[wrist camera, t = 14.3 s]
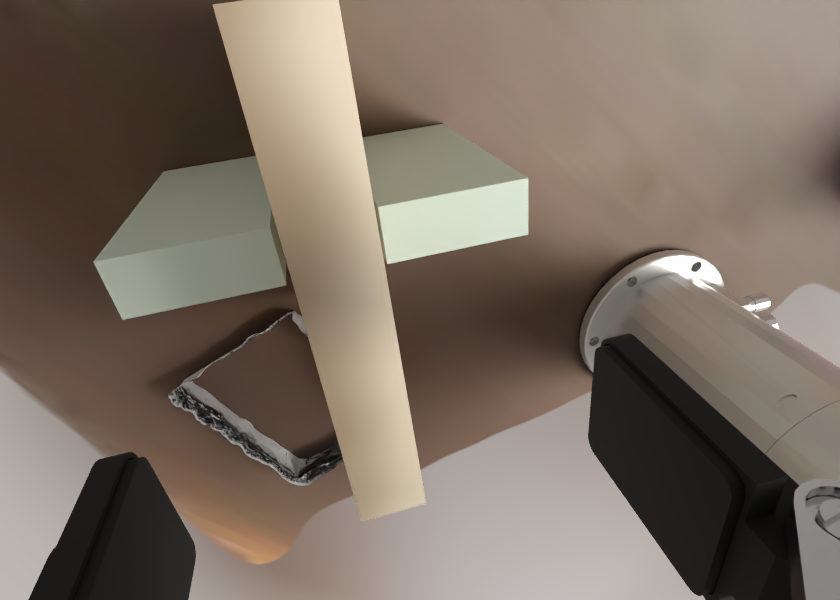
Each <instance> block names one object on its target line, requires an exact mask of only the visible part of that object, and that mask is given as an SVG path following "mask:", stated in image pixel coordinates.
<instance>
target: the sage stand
mask: <svg viewBox="0 0 840 600" xmlns="http://www.w3.org/2000/svg"><path fill="white" fill-rule="evenodd" d="M362 138H363V144H364V150H365V155H366V161H367V167H368V173H369V178H370V184H371V190H372V196H373V201H374V207H375V213H376V219H377V224H378V230H379V236H380V242H381V247H382V253H383V255H384V257H385V260H386V262H387V264H391V263H395V262H400V261H405V260H410V259H414V258H419V257H424V256H428V255H433V254H438V253H443V252H447V251H452V250H457V249H462V248H466V247H471V246H476V245H481V244H485V243H490V242H495V241H500V240H504V239H509V238H514V237H519V236H523V235H528V178H527V177H526V176H524V175H523V174H521V173H520V172H518V171H516V170H515V169H513V168H512V167H510V166H509V165H507V164H506V163H504V162H502V161H501V160H499V159H498V158H496V157H495V156H493V155H492V154H490V153H488V152H487V151H485V150H484V149H482V148H481V147H479V146H478V145H476V144H474V143H473V142H471V141H470V140H468V139H467V138H465V137H463V136H462V135H460V134H459V133H457V132H456V131H454V130H453V129H451V128H449V127H448V126H446V125H445V124H438V125H432V126H426V127H420V128H415V129H409V130H403V131H397V132H391V133H385V134H379V135H374V136H368V137H362ZM94 264H95V266H96V268H97V270H98V272H99V274H100V276H101V278H102V280H103V282H104V284H105V286H106V288H107V290H108V292H109V294H110V296H111V298H112V300H113V302H114V304H115V306H116V308H117V310H118V312H119V314H120V316H121V318H122V320H125V319H130V318H134V317H139V316H144V315H149V314H153V313H158V312H163V311H168V310H172V309H177V308H182V307H187V306H191V305H196V304H201V303H206V302H210V301H215V300H220V299H224V298H229V297H234V296H239V295H243V294H248V293H253V292H258V291H262V290H267V289H272V288H277V287H281V286H286V258H285V255H284V252H283V248H282V245H281V241H280V238H279V234H278V231H277V227H276V224H275V220H274V217H273V213H272V210H271V206H270V203H269V199H268V196H267V192H266V189H265V185H264V182H263V179H262V175H261V172H260V168H259V165H258V161H257V158H256V156H251V157H245V158H239V159H233V160H227V161H221V162H216V163H210V164H204V165H198V166H192V167H186V168H180V169H175V170H169V171H163V173H162V174H161V175H160V177H159V178H158V179H157V180H156V182H155V183H154V184H153V186H152V187H151V188H150V189H149V191H148V192H147V193H146V195H145V196H144V197H143V198H142V200H141V201H140V202H139V204H138V205H137V206H136V207H135V209H134V210H133V211H132V213H131V214H130V215H129V217H128V218H127V219H126V220H125V222H124V223H123V224H122V226H121V227H120V228H119V229H118V231H117V232H116V233H115V235H114V236H113V237H112V238H111V240H110V241H109V242H108V244H107V245H106V246H105V247H104V249H103V250H102V251H101V253H100V254H99V255H98V256H97V258H96V259H95V260H94Z"/></svg>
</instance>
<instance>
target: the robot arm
mask: <svg viewBox="0 0 840 600" xmlns="http://www.w3.org/2000/svg"><path fill="white" fill-rule="evenodd" d="M769 306H770V300H769V298H768V296H767V295H765V294H763V293H759V294H755V295H751V296H747V297H744V298H742V299H741V298H739V297H737V296H736V295H734V294H733V293H731V292H729V291H728V290H726V289H724V282H723V280H722V277H721V275H720V272H719V271H718V270H717V269H716V267H715V266H714V265H713V264H712V263H710V262H709V261H707V260H706V259H704V258H702V257H701V256H699V255H697V254H694V253H692V252H688V251H683V250H665V251H661V252H657V253H652V254H650V255H647V256H645V257H643V258H640V259H638V260H636V261H634V262H633V263H631V264H629V265H628V266H626V267H624V268H623V269H622V270H621V271H619V272H618V273H617V274H616V275H614V276H613V277H612V278H611V279H610V280H609V281H608V282H607V283H606V284H605V285H604V286H603V287H602V288H601V289H600V291H599V292H598V294H597V295H596V296H595V298H594V299H593V301H592V302H591V304H590V306H589V308H588V310H587V312H586V314H585V316H584V319H583V322H582V326H581V330H580V338H579V343H580V352H581V355H582V358H583V360H584V362H585V364H586V365H587V366H588V368H589V369H590V370H591V371H592V372H593V381H592V394H591V407H590V420H589V433H588V439H589V443H590V446H591V449H592V451H593V452H594V454H595V455H596V457H597V458H598V460H599V461H600V462H601V464H602V465H603V467H604V468H605V470H606V471H607V472H608V474H609V475H610V477H611V478H612V480H613V481H614V482H615V484H616V485H617V487H618V488H619V489H620V491H621V492H622V494H623V495H624V497H625V498H626V499H627V501H628V502H629V504H630V505H631V506H632V508H633V509H634V511H635V512H636V514H637V515H638V516H639V518H640V519H641V521H642V522H643V523H644V525H645V526H646V528H647V529H648V531H649V532H650V533H651V535H652V536H653V538H654V539H655V540H656V542H657V543H658V545H659V546H660V547H661V549H662V550H663V552H664V553H665V555H666V556H667V558H668V559H669V560H670V562H671V563H672V565H673V566H674V567H675V569H676V570H677V572H678V573H679V574H680V576H681V577H682V579H683V580H684V582H685V583H686V584H687V586H688V587H689V588H690V590H691V591H692V592H693V593H694V594H696V595H698V596H701V595H703V596H704V597H705V599H706V600H840V367H838V366H837V365H835V364H833V363H832V362H830V361H828V360H827V359H825V358H824V357H822V356H820V355H819V354H817V353H816V352H814V351H812V350H811V349H809V348H808V347H806V346H804V345H803V344H801V343H800V342H798V341H796V340H795V339H793V338H792V337H790V336H788V335H787V334H785V333H784V332H782V331H780V330H779V329H778V323H777V321H776V319H775V318H774V317H773V316H772V315H771V314H768V313H763V314H759V315H755V314H753V313H754V312H758V311H762V310H766V309H768V308H769ZM195 558H196V552H195V545H194V542H193V540H192V538H191V536H190V534H189V533H188V531H187V529H186V527H185V526H184V524H183V522H182V520H181V518H180V517H179V515H178V513H177V511H176V509H175V508H174V506H173V504H172V502H171V501H170V499H169V497H168V495H167V494H166V492H165V490H164V488H163V486H162V485H161V483H160V481H159V479H158V478H157V476H156V474H155V472H154V470H153V469H152V467H151V465H150V463H149V462H148V460H147V459H146V458H145V457H140V458H138V457H137V456H136V454H134V453H132V452H128V453H124V454H120V455H116V456H111V457H107V458H103V459H99V460H98V461H96V462H95V464H94V465H93V467H92V469H91V471H90V473H89V476H88V478H87V480H86V482H85V484H84V487H83V489H82V491H81V493H80V496H79V498H78V500H77V502H76V504H75V506H74V509H73V511H72V513H71V515H70V517H69V520H68V522H67V524H66V526H65V528H64V531H63V533H62V535H61V537H60V539H59V542H58V544H57V546H56V547H55V548H54V549H53V551H52V552H51V554H50V555H49V557H48V559H47V561H46V563H45V565H44V568H43V570H42V572H41V574H40V576H39V578H38V581H37V583H36V585H35V587H34V589H33V591H32V594H31V596H30V598H29V600H188V598H189V592H190V587H191V581H192V576H193V571H194V565H195Z"/></svg>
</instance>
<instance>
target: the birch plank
mask: <svg viewBox="0 0 840 600" xmlns="http://www.w3.org/2000/svg"><path fill="white" fill-rule="evenodd" d="M212 5H213V8H214V12H215V15H216V19H217V22H218V26H219V29H220V32H221V36H222V39H223V43H224V46H225V50H226V53H227V57H228V60H229V64H230V67H231V71H232V74H233V78H234V81H235V85H236V88H237V92H238V95H239V99H240V102H241V106H242V109H243V112H244V116H245V119H246V123H247V126H248V130H249V133H250V137H251V140H252V144H253V147H254V151H255V154H256V158H257V161H258V165H259V168H260V172H261V175H262V179H263V182H264V185H265V189H266V192H267V196H268V199H269V203H270V206H271V210H272V213H273V217H274V220H275V224H276V227H277V231H278V234H279V238H280V241H281V245H282V248H283V252H284V255H285V258H286V262H287V265H288V269H289V272H290V276H291V279H292V283H293V286H294V290H295V293H296V297H297V300H298V304H299V307H300V311H301V314H302V318H303V321H304V325H305V328H306V332H307V335H308V338H309V342H310V345H311V349H312V352H313V356H314V359H315V363H316V366H317V370H318V373H319V377H320V380H321V384H322V387H323V391H324V394H325V398H326V401H327V405H328V408H329V411H330V415H331V418H332V422H333V425H334V429H335V432H336V436H337V439H338V443H339V446H340V450H341V453H342V457H343V460H344V464H345V467H346V471H347V474H348V478H349V481H350V485H351V488H352V491H353V495H354V498H355V502H356V505H357V508H358V512H359V515H360V519H361V522H364V521H368V520H371V519H375V518H378V517H381V516H385V515H388V514H392V513H395V512H399V511H402V510H406V509H409V508H413V507H416V506H419V505H422V504H426V500H425V495H424V489H423V483H422V477H421V471H420V466H419V460H418V454H417V448H416V443H415V437H414V431H413V425H412V420H411V414H410V408H409V402H408V397H407V391H406V385H405V379H404V374H403V368H402V362H401V356H400V351H399V345H398V339H397V333H396V328H395V322H394V316H393V310H392V305H391V299H390V293H389V287H388V282H387V276H386V270H385V264H384V259H383V253H382V247H381V242H380V236H379V230H378V224H377V219H376V213H375V207H374V201H373V196H372V190H371V184H370V178H369V173H368V167H367V161H366V155H365V150H364V144H363V138H362V132H361V127H360V121H359V115H358V109H357V104H356V98H355V92H354V86H353V81H352V75H351V69H350V63H349V58H348V52H347V46H346V40H345V35H344V29H343V23H342V17H341V12H340V6H339V0H243V1H235V2H228V3H220V4H212Z"/></svg>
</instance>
